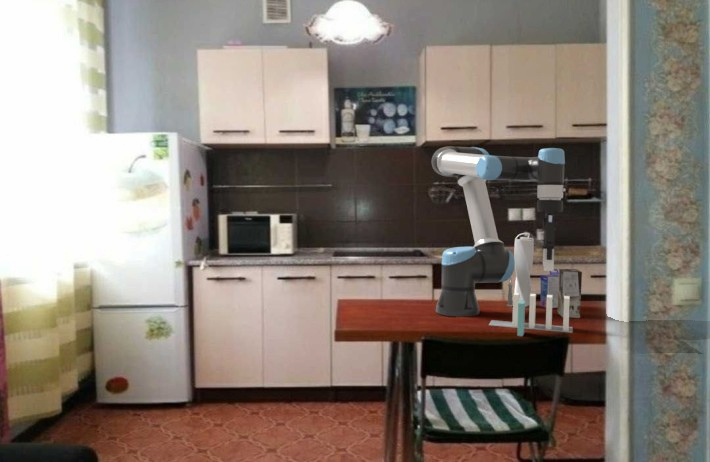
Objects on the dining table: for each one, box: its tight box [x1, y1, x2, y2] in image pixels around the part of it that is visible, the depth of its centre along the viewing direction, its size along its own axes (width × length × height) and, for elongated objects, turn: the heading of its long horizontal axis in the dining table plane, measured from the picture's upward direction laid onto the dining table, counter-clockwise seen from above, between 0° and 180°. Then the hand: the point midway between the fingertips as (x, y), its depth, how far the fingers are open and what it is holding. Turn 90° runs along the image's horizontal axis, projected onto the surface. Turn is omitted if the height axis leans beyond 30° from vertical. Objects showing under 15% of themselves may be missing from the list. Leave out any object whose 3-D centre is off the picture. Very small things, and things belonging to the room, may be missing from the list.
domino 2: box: [528, 293, 537, 328], centre depth 173 cm, size 2×5×10 cm, turn 159°
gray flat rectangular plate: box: [488, 319, 574, 334], centre depth 174 cm, size 25×8×1 cm, turn 69°
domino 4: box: [562, 296, 570, 331], centre depth 170 cm, size 2×5×10 cm, turn 159°
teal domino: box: [516, 301, 526, 337], centre depth 163 cm, size 2×5×10 cm, turn 159°
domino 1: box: [511, 292, 520, 327], centre depth 175 cm, size 2×5×10 cm, turn 159°
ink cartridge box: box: [540, 268, 559, 309], centre depth 209 cm, size 10×6×14 cm, turn 104°
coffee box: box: [557, 268, 583, 319], centre depth 194 cm, size 9×6×16 cm
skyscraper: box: [506, 232, 535, 309], centre depth 211 cm, size 8×8×28 cm
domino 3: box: [545, 295, 553, 330], centre depth 172 cm, size 2×5×10 cm, turn 159°
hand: (547, 268), depth 169 cm, fingers open, 13 cm apart
